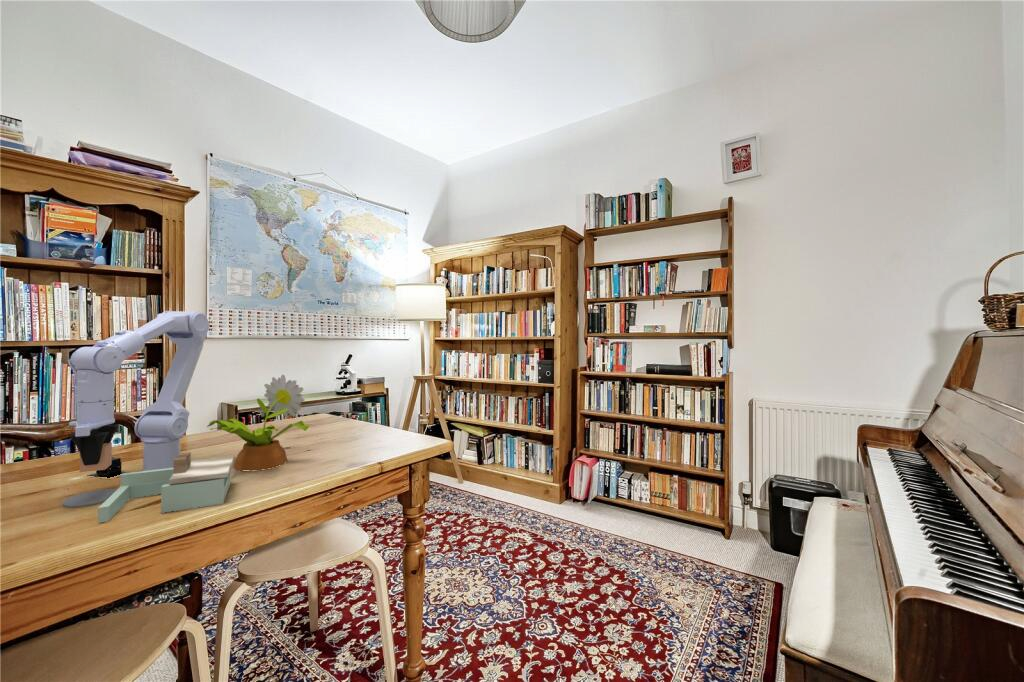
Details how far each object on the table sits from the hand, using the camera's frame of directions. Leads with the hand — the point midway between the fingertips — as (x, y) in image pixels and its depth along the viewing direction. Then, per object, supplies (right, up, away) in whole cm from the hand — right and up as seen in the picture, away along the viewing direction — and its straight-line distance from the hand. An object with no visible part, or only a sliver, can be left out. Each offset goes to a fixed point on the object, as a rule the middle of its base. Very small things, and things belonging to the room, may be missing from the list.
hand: (95, 461), depth 90 cm
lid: (+22, -3, +3) cm, 23 cm away
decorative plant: (+19, -9, +25) cm, 33 cm away
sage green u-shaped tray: (+17, -9, 0) cm, 19 cm away
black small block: (-13, -9, +16) cm, 22 cm away
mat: (-1, -8, 0) cm, 8 cm away
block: (0, -2, 0) cm, 2 cm away
